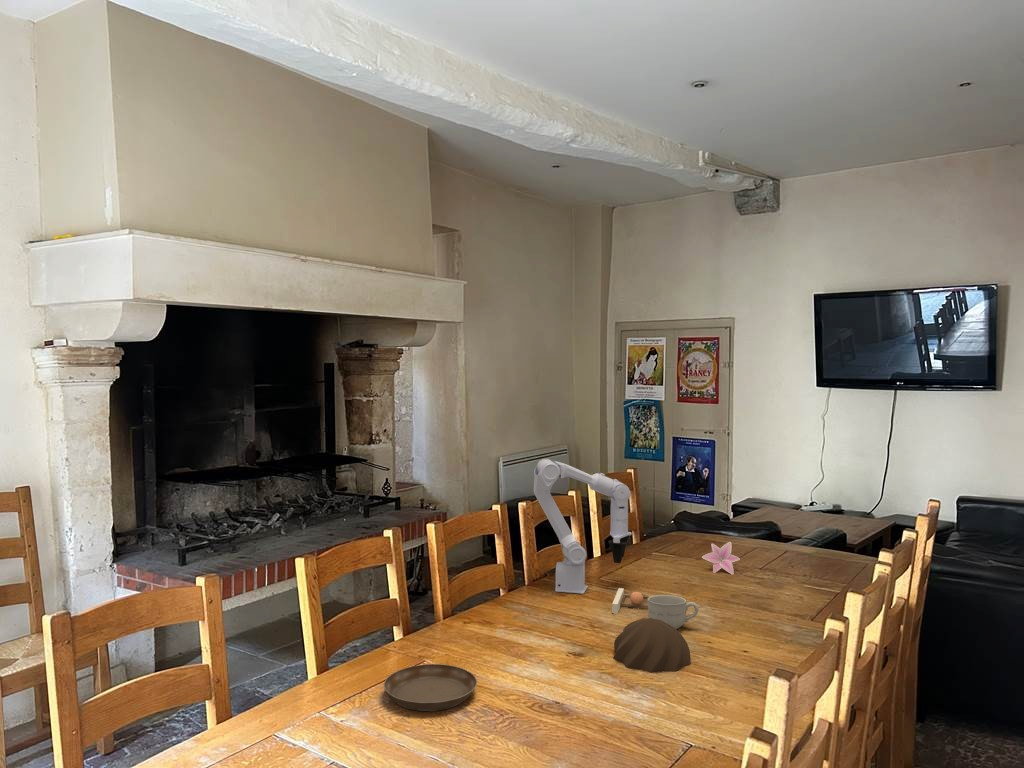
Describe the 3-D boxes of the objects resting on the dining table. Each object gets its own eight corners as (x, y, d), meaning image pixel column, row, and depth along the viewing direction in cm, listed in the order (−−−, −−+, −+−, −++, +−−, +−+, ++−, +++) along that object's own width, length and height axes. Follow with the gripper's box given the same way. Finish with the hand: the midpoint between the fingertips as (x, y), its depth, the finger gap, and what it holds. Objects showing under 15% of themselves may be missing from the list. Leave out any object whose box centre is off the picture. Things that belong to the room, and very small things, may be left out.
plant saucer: (431, 668, 181) (430, 655, 181) (495, 693, 168) (495, 678, 168) (364, 698, 165) (364, 684, 165) (430, 727, 152) (430, 711, 152)
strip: (612, 613, 221) (612, 603, 221) (618, 597, 236) (618, 588, 236) (617, 614, 220) (617, 604, 220) (623, 597, 236) (623, 588, 236)
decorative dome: (638, 679, 176) (639, 637, 175) (598, 649, 194) (599, 611, 194) (707, 667, 183) (707, 626, 182) (662, 639, 201) (662, 602, 201)
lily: (697, 572, 269) (700, 552, 264) (710, 553, 277) (714, 534, 272) (728, 587, 263) (732, 567, 258) (741, 568, 271) (746, 549, 266)
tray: (620, 607, 227) (620, 603, 227) (623, 598, 235) (624, 594, 235) (651, 610, 224) (651, 606, 224) (653, 600, 233) (653, 596, 233)
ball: (630, 604, 229) (629, 604, 225) (630, 591, 230) (630, 590, 227) (643, 606, 228) (642, 605, 224) (644, 592, 229) (643, 591, 226)
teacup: (642, 629, 208) (642, 601, 208) (653, 617, 218) (654, 590, 217) (692, 638, 201) (692, 608, 201) (701, 625, 211) (702, 597, 211)
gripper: (629, 524, 238) (628, 566, 238) (633, 515, 252) (633, 555, 252) (607, 522, 239) (606, 564, 240) (612, 514, 253) (612, 553, 254)
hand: (618, 559), depth 246 cm, fingers open, 7 cm apart
